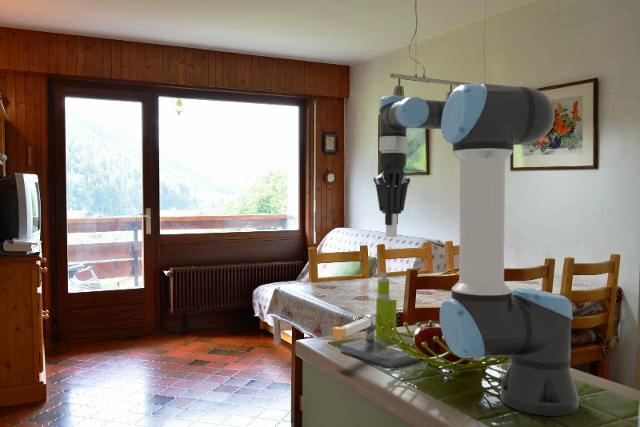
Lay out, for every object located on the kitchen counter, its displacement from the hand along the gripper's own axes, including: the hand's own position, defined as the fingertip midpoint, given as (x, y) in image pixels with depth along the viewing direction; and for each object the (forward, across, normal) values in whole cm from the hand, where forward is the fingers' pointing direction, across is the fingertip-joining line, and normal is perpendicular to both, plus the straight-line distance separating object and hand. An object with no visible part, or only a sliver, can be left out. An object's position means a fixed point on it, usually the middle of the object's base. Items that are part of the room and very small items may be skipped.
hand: (391, 236), depth 165 cm
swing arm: (+25, +15, +2) cm, 29 cm away
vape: (+31, 0, -2) cm, 31 cm away
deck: (+30, +11, +7) cm, 33 cm away
